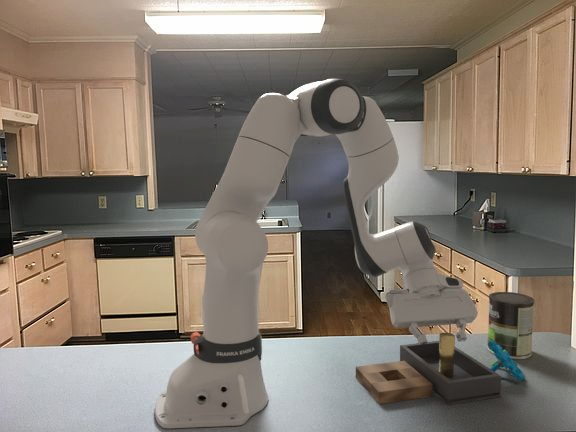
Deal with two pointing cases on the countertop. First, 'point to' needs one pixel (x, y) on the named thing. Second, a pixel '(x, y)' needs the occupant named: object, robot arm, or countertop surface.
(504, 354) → the blue notched toy part
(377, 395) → the block
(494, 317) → the coffee can
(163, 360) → the countertop surface
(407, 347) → the tray
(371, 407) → the countertop surface
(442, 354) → the pin
